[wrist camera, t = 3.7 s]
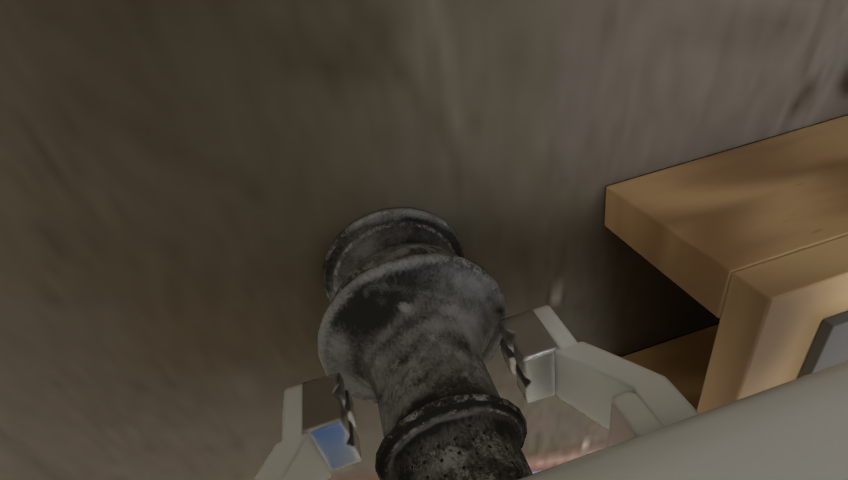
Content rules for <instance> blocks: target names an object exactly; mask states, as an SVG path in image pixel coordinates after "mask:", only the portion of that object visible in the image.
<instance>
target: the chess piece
mask: <svg viewBox="0 0 848 480" xmlns="http://www.w3.org/2000/svg"><path fill="white" fill-rule="evenodd" d="M323 286H324V288H325V291H326V294H327V297H328V299H329V301H330V302H331V304H330V306H329V307H328V308H327V310H326V311H325V313H324V316H323V319H322V322H321V325H320V328H319V331H318V356H319V359H320V361H321V363H322V366H323V368H324V370H325V373H326V374H327V375H332V374H335V373H340V374H341V376H342V378H343V380H344V386H345V390H347V391H349V394H351V395H353V396H355V397H357V398H360V399H363V400H367V401H371V402H374V403H378V407H379V412H380V418H381V423H382V429H383V434H384V439H383V440H382V442H381V445H380V447H379V449H378V451H377V453H376V465H375V468H376V472H377V474H378V477H379V479H380V480H518V479H521V478H524V477H527V476H529V475H532V471H531V469H530V467H529V465H528V463H527V461H526V459H525V457H524V454H523V452H522V450H521V448H522V447H523V444H524V441H525V438H526V435H527V426H526V420H525V418H524V416H523V415H522V413H521V411H520V409H519V408H518V407H517V406H515V405H514V404H513V403H511V402H510V401H508V400H506V399H503V398H500V396H499V394H498V392H497V390H496V388H495V386H494V383H493V381H492V379H491V377H490V375H489V373H488V371H487V369H486V367H485V364H486V363H487V362H488V361H489V360H490V359H491V357H492V356H493V355H494V353H495V351H496V349H497V347H498V346H499V344H500V341H501V339H502V338H503V337H502V335H501V334H500V332H499V327H498V322H499V320H502V319H505V318H507V308H506V300H505V298H504V295H503V293H502V291H501V289H500V287H499V284H498V283H497V282H496V281H495V279H494V278H493V277H492V276H491V275H490V274H489V273H488V272H487V271H486V270H485V269H484V268H482V267H480V266H478V265H476V264H474V263H472V262H470V261H469V260H467V259H465V258H464V255H463V247H462V245H461V243H460V241H459V239H458V237H457V235H456V233H455V232H454V230H453V229H452V228H451V227H450V226H449V225H448V224H447V223H446V222H445V221H444V220H442V219H440V218H438V217H437V216H435V215H433V214H431V213H429V212H426V211H422V210H418V209H414V208H389V209H385V210H381V211H377V212H373V213H370V214H368V215H366V216H364V217H363V218H361V219H359V220H357V221H355V222H353V223H352V224H351V225H350V226H348V227H347V228H346V229H345V230H344V231H343V232H342V233H341V234H339V235H338V237H337V238H336V240H335V241H334V243H333V244H332V246H331V247H330V249H329V250H328V253H327V256H326V259H325V262H324V266H323Z"/></svg>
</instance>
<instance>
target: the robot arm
mask: <svg viewBox="0 0 848 480" xmlns="http://www.w3.org/2000/svg"><path fill="white" fill-rule="evenodd" d="M498 327H499V332H500V334H501V335H502V337H503V338H502V339H501V341H500V343H501V349H502V353H503V356H504V359H505V362H506V364H507V366H508V368H509V370H510V372H511V373H513V374H515V375H516V377H517V385H518V387H519V389H520V391H521V392H522V394H523V396H524V398H525V400H526V402H527V403H531V402H534V401H537V400H540V399H544V398H547V397H550V396H553V395H556V396H557V397H558V398H560V399H561V400H563V401H564V402H566V403H567V404H569V405H571V406H572V407H574V408H575V409H577V410H578V411H580V412H581V413H583V414H584V415H586V416H587V417H589V418H590V419H592V420H593V421H595V422H597V423H598V424H600V425H601V426H603V427H604V428H606V429H607V430H609V439H608V447H607V448H604V449H601V450H598V451H596V452H593V453H590V454H587V455H585V456H582V457H579V458H576V459H574V460H571V461H568V462H565V463H562V464H560V465H557V466H554V467H551V468H549V469H546V470H543V471H540V472H538V473H535V474H532V475H529V476H527V477H524V478H521V479H518V480H848V360H847V361H844V362H841V363H838V364H836V365H833V366H830V367H827V368H825V369H822V370H819V371H816V372H814V373H811V374H808V375H805V376H803V377H800V378H797V379H794V380H792V381H789V382H786V383H783V384H781V385H778V386H775V387H772V388H770V389H767V390H764V391H761V392H759V393H756V394H753V395H750V396H747V397H745V398H742V399H739V400H736V401H734V402H731V403H728V404H725V405H723V406H720V407H717V408H714V409H712V410H709V411H706V412H703V413H701V414H699V413H698V412H697V411H696V409H695V408H694V407H693V406H692V405H691V404H690V403H689V402H688V401H687V400H686V399H685V397H684V396H683V395H682V394H681V393H680V392H679V391H678V390H677V389H676V388H675V386H674V385H673V384H672V383H671V382H670V381H669V380H668V379H667V378H666V377H665V376H663V375H661V374H658V373H656V372H654V371H651V370H649V369H647V368H644V367H642V366H640V365H637V364H635V363H633V362H630V361H628V360H626V359H623V358H621V357H619V356H616V355H614V354H612V353H609V352H607V351H605V350H602V349H600V348H598V347H595V346H593V345H591V344H588V343H586V342H584V341H582V342H577V341H576V339H575V338H574V337H573V335H572V334H571V333H570V332H569V330H568V329H567V328H566V326H565V325H564V324H563V323H562V321H561V320H560V319H559V317H558V316H557V315H556V313H555V312H554V311H553V310H552V308H551V307H550V306H548V305H545V306H542V307H539V308H536V309H533V310H531V311H530V310H529V311H526V312H523V313H520V314H517V315H514V316H511V317H508V318H505V319H502V320H499V322H498ZM356 425H357V420H356V414H355V409H354V405H353V402H352V399H351V396H350V394H349V391H347V390H345V386H344V380H343V378H342V376H341V374H340V373H335V374H332V375H328V376H325V377H322V378H318V379H315V380H311V381H308V382H305V383H302V384H299V385H296V386H292V387H289V388H286V389H285V392H284V395H283V419H282V441H281V442H278V443H276V444H275V446H274V447H273V449H272V451H271V452H270V454H269V455H268V457H267V459H266V460H265V462H264V463H263V465H262V467H261V468H260V470H259V471H258V473H257V474H256V476H255V478H254V479H253V480H329V479H330V477H331V472H333V471H335V470H338V469H341V468H343V467H346V466H349V465H351V464H354V463H357V462H359V461H362V460H361V452H360V444H359V438H358V435H357V433H356V431H355V427H356Z"/></svg>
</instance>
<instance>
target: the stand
mask: <svg viewBox="0 0 848 480" xmlns="http://www.w3.org/2000/svg"><path fill="white" fill-rule="evenodd" d="M604 224H605V226H606V227H607V228H608V229H610V230H611V231H612V232H613V233H614V234H616V235H617V236H618V237H619V238H621V239H622V240H623V241H624V242H625V243H627V244H628V245H629V246H630V247H632V248H633V249H634V250H635V251H636V252H638V253H639V254H640V255H641V256H643V257H644V258H645V259H646V260H647V261H649V262H650V263H651V264H652V265H654V266H655V267H656V268H657V269H658V270H660V271H661V272H662V273H663V274H665V275H666V276H667V277H668V278H670V279H671V280H672V281H673V282H674V283H676V284H677V285H678V286H679V287H681V288H682V289H683V290H684V291H685V292H687V293H688V294H689V295H690V296H692V297H693V298H694V299H695V300H696V301H698V302H699V303H700V304H701V305H703V306H704V307H705V308H706V309H707V310H709V311H710V312H711V313H712V314H714V315H715V316H716V317H717V318H720V322H719V324H717V325H714V326H711V327H708V328H705V329H702V330H699V331H697V332H694V333H691V334H688V335H685V336H682V337H679V338H676V339H673V340H670V341H667V342H664V343H661V344H658V345H655V346H652V347H649V348H646V349H644V350H641V351H638V352H635V353H632V354H629V355H626V356H623V357H621V358H623V359H626V360H628V361H630V362H633V363H635V364H637V365H640V366H642V367H644V368H647V369H649V370H651V371H654V372H656V373H658V374H661V375H663V376H665V377H666V378H667V379H668V380H669V381H670V382H671V383H672V384H673V385H674V386H675V388H676V389H677V390H678V391H679V392H680V393H681V394H682V395H683V396H684V397H685V399H686V400H687V401H688V402H689V403H690V404H691V405H692V406H693V407H694V408H695V409H696V411H697V412H698V413H699V414H701V413H703V412H706V411H709V410H712V409H714V408H717V407H720V406H723V405H725V404H728V403H731V402H734V401H736V400H739V399H742V398H745V397H747V396H750V395H753V394H756V393H759V392H761V391H764V390H767V389H770V388H772V387H775V386H778V385H781V384H783V383H786V382H789V381H792V380H794V379H797V378H800V377H803V376H805V375H808V374H811V373H814V372H816V371H819V370H822V369H825V368H827V367H830V366H833V365H836V364H838V363H841V362H844V361H847V360H848V115H847V116H843V117H840V118H837V119H833V120H830V121H827V122H823V123H820V124H816V125H813V126H810V127H806V128H803V129H799V130H796V131H793V132H789V133H786V134H782V135H779V136H776V137H772V138H769V139H766V140H762V141H759V142H755V143H752V144H749V145H745V146H742V147H738V148H735V149H732V150H728V151H725V152H722V153H718V154H715V155H711V156H708V157H705V158H701V159H698V160H694V161H691V162H688V163H684V164H681V165H678V166H674V167H671V168H667V169H664V170H661V171H657V172H654V173H650V174H647V175H644V176H640V177H637V178H634V179H630V180H627V181H623V182H620V183H617V184H613V185H610V186H607V187H606V202H605V223H604Z"/></svg>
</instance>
